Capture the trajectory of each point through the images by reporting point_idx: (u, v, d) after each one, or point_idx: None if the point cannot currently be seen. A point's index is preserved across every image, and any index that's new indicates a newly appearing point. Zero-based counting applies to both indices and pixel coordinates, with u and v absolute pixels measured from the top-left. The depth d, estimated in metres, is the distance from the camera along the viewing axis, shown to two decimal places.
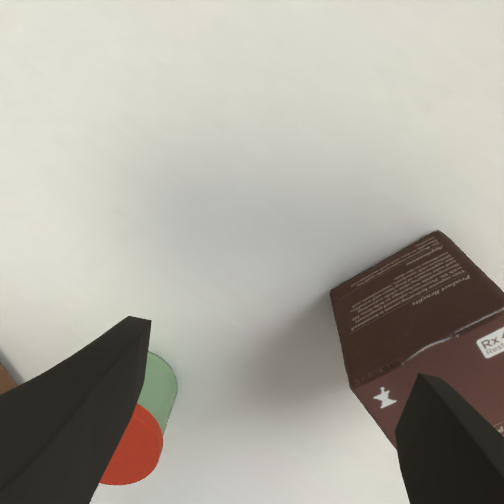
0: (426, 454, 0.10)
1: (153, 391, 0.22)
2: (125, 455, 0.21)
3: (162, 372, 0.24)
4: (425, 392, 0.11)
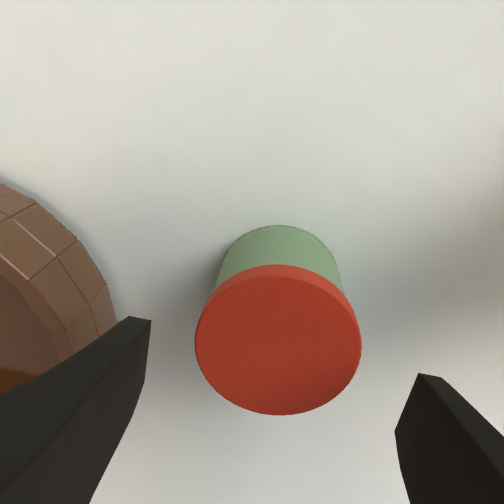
0: (426, 454, 0.10)
1: (332, 274, 0.15)
2: (304, 364, 0.13)
3: (329, 256, 0.16)
4: (425, 392, 0.11)
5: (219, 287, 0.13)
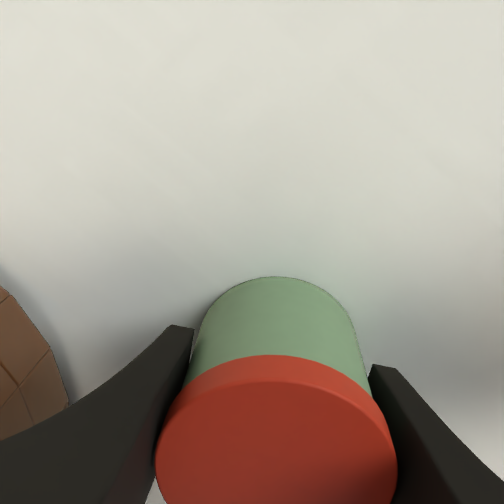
0: None
1: (351, 354, 0.10)
2: (313, 496, 0.09)
3: (345, 321, 0.12)
4: (377, 383, 0.11)
5: (189, 387, 0.09)
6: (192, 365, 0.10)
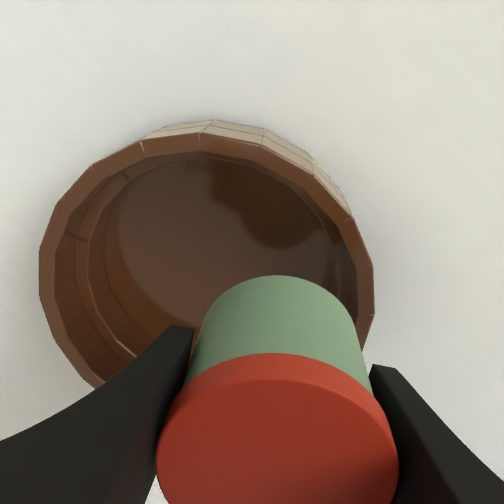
0: None
1: (352, 353, 0.10)
2: (315, 494, 0.09)
3: (346, 319, 0.12)
4: (377, 383, 0.11)
5: (190, 385, 0.09)
6: (193, 363, 0.10)
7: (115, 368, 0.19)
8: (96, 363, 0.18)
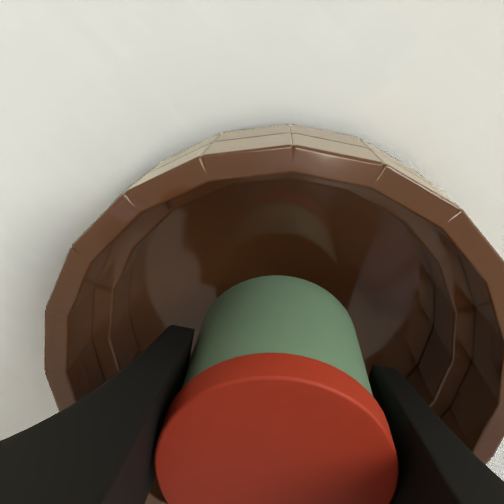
0: None
1: (352, 353, 0.10)
2: (314, 494, 0.09)
3: (345, 319, 0.12)
4: (377, 383, 0.11)
5: (189, 385, 0.09)
6: (192, 363, 0.10)
7: None
8: None
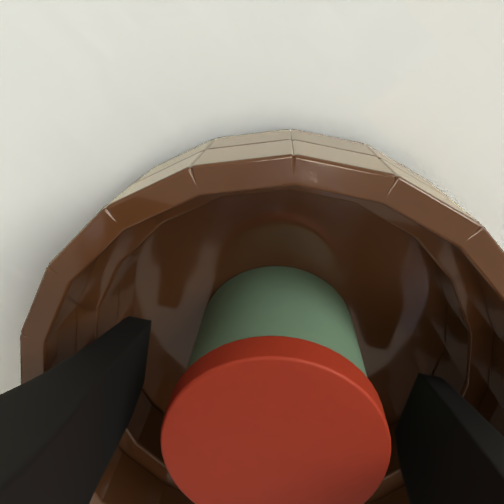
0: (426, 454, 0.10)
1: (348, 338, 0.11)
2: (311, 470, 0.10)
3: (342, 308, 0.12)
4: (425, 392, 0.11)
5: (194, 366, 0.09)
6: (196, 348, 0.11)
7: (134, 485, 0.13)
8: (106, 484, 0.12)
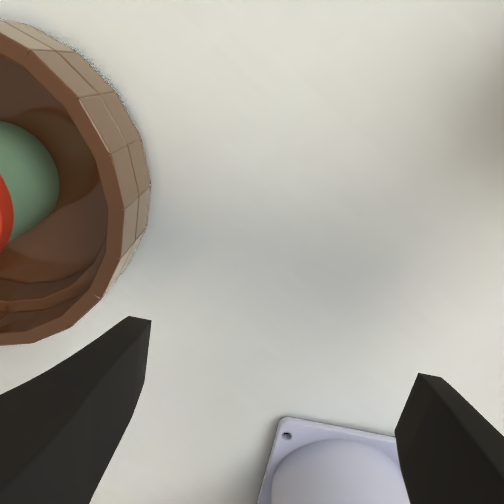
0: (426, 454, 0.10)
1: (6, 151, 0.16)
2: None
3: (30, 145, 0.18)
4: (425, 392, 0.11)
5: None
6: None
7: None
8: None
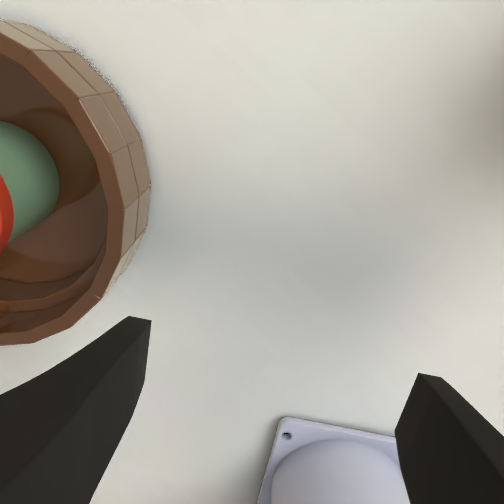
0: (426, 454, 0.10)
1: (6, 151, 0.16)
2: None
3: (30, 145, 0.18)
4: (425, 392, 0.11)
5: None
6: None
7: None
8: None
